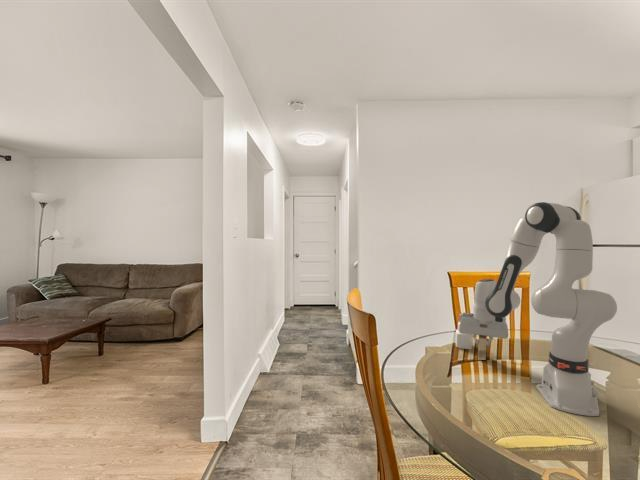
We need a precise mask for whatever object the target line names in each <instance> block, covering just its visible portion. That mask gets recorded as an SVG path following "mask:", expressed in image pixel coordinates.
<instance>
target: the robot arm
mask: <svg viewBox="0 0 640 480" xmlns="http://www.w3.org/2000/svg"><path fill="white" fill-rule="evenodd" d="M581 217H582V216H581V214H580V213H579V212H578V210H577V209H575V208H573V207H571V206H566V205H562V204H559V203H554V202H545V201H541V202H536V203H533V204H531V205H529V206H528V208H527V209H526V211H525V214H524V216H523V217H521V218H519V219H518V221H517V223H516V225H515V226H514V229H512V233H511V236H510V239H509V242H508V246H507V249H506V250H507V251H506V254H505V258H504V261H503V265H502V268H501V270H500V273H499V275H498V278H497V281H496V280H495V279H492V278H487V279H486V278H484V279H479V280H478V281H477V282H476V283H475V286H474V294H473V296H474V297H473V300H474V304H473V312H472V313H471V312H469V313H468V312H461V313H460V314H459V315H458V322H460V326H459V331H460V333H465V334H472V335H473V340H474V341H475V342H474V343H475V345H479V339H477V336H479V335H486V336H487V337H489V339H488V340H487V343H486V347H490V346H491V342H492V341H493V339H494V338H497V339H503V340H505V339H508V338H509V327H508V323H507V321H506V320H507V318H506V317H507V316H509V315H510V314H511V312H512V313H513V312H514V310H516V309H517V308H519V306H520V304H521V298H520V295H519V294H518V293H517V292H516V291H515V290H514V289H515V288H514V287H515V286H516V282H517V279H518V277H519V276H520V274H521V273H522V272H523V271H524V270H525V269H526V268H527V267H528V266H529V265H530V264H532V262H533V261H534V259H536V257H537V254H538V252H539V250H540V246H541V243H542V241H543V238H544V236H545V235H547V234H549V233H550V234H553V235H554V237H555V242H556V245H555V259H554V267H553V268H554V269H553V272H552V274H551V276H550V278H549V279H548V281H546V282H545V283H544V284H543V285H542V286H540V287H538V288H537V289H535V291H534V292H533V293H532V295H531V299H530V302H531V306H532V308H533V310H534V312H535V313H537V315H538V314H539V315H541V316H545V317H549V318H557V319H567V320H570V322H569V323H568V324H566V325H564V326H563V325H562V326H560V327H559V328H556V329H555V330H553V332H552V334H551V345H550V351H549V354H548V364H546V365H544V366H543V370H542V376H541V377H542V378H541V383H537V384H536V386H535V387H536V389H537V391H538V392H539V393H540V394H541V396H542V397H543V398H544V399H545V402H547V403H548V405H549V406H550V407H551V408H554V409H555V410H559V411H562V412H566V413H570V414H575V415H581V416H587V417H598V416H600V408H599V402H598V389H597V388H593V387H592V386H594V385H595V381H594V380H592V374H591V373H590V372H589V367H590V365H589V359H588V353H589V347H590V340H591V338H592V336H593V334H594V333H595V332H596V330H597V329H598V328H599V327H600V326H601V325H603V324H605V323H607V322H608V321H611V320H612V319H614V317H615V316H616V314H617V311H618V305H617V302H616V300H615V298H614V297H613V296H612V295H611V294H610V293H606V292H603V291H598V290H593V289H582V288H581V289H580V288H573V284H574V283H575V282H576V281H578V280H581V279H584V278H587V277H588V276H590V274H591V273H592V271H593V258H594V257H593V256H594V255H593V254H594V253H593V252H594V251H593V250H594V248H593V247H594V244H593V235H592V230H591V227H590V224H588V223H587V222H586V221H584V220H582V219H581ZM480 324H484V325H487V328H484V327H480Z"/></svg>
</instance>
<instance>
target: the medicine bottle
mask: <svg viewBox="0 0 640 480" xmlns="http://www.w3.org/2000/svg"><path fill="white" fill-rule="evenodd" d="M459 326H460V321H458V322H457V328H456V329H455V347H458V348H457V349H462V348H463V350H471V349H472V350H473V341H474V338H473V334H465V333H460V331H459Z"/></svg>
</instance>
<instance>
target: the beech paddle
mask: <svg viewBox="0 0 640 480" xmlns="http://www.w3.org/2000/svg"><path fill="white" fill-rule="evenodd" d="M480 327H484V328H487V325H484V324H480ZM487 337H488V336H486V335H478V340H479V345H478V346H477V347H478V349H477V350H478V351H477V360H478V359H480V360H479V361H481V360H487V359H486V358H487V357H486V356H487V346H486V343H487V341H488V340H487Z"/></svg>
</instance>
